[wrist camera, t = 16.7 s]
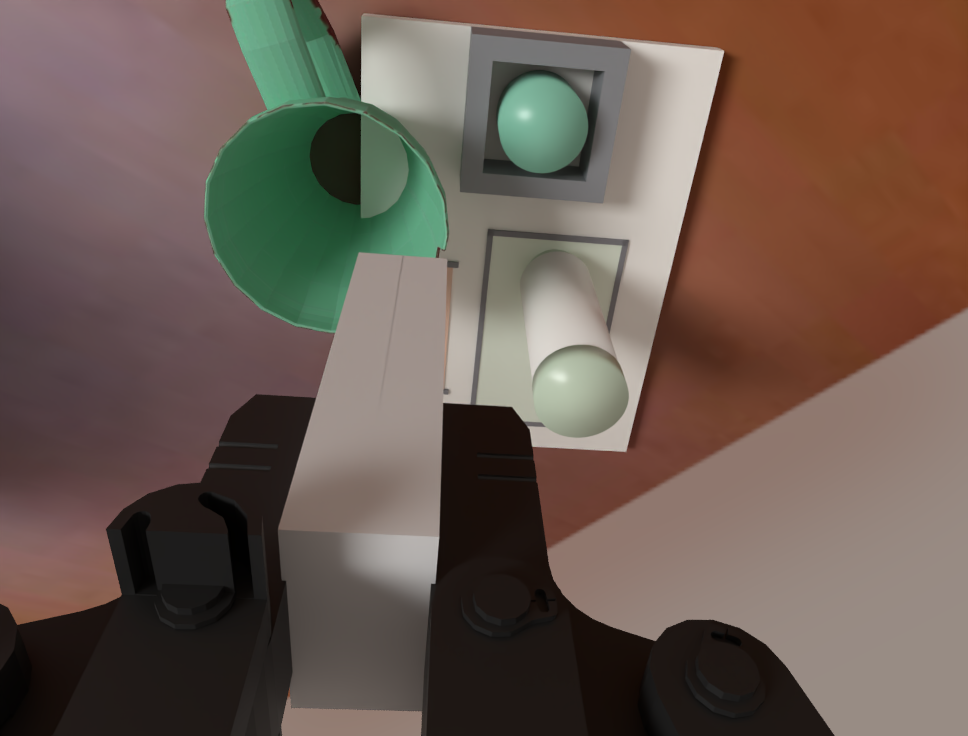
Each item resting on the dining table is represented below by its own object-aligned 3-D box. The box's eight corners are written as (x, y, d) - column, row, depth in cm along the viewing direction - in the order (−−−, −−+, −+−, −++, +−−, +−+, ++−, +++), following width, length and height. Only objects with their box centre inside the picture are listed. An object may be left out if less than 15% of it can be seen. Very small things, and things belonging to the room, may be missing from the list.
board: (361, 427, 47) (354, 462, 44) (363, 13, 34) (355, 22, 31) (623, 442, 48) (634, 477, 45) (717, 47, 35) (741, 59, 32)
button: (492, 152, 36) (494, 169, 34) (500, 66, 34) (504, 78, 32) (572, 158, 36) (580, 176, 34) (585, 74, 34) (595, 86, 32)
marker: (514, 304, 41) (529, 435, 31) (521, 239, 39) (539, 357, 29) (583, 308, 41) (620, 440, 31) (593, 243, 39) (637, 362, 29)
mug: (470, 224, 40) (474, 307, 32) (300, 264, 41) (259, 354, 33) (393, -81, 33) (370, -80, 24) (187, -24, 34) (94, -4, 25)
